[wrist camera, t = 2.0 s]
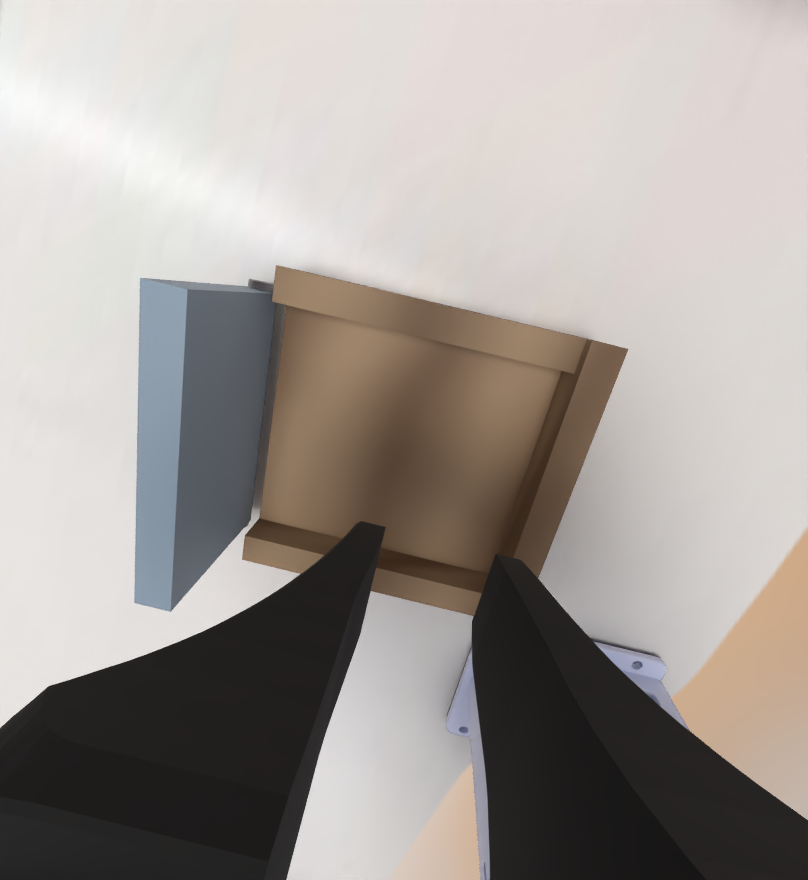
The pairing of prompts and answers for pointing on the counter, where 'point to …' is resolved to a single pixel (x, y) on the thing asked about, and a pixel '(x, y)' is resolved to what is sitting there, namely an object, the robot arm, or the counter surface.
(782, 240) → the counter surface
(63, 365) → the counter surface
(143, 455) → the tailgate
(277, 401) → the wooden tray
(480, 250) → the counter surface
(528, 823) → the robot arm
